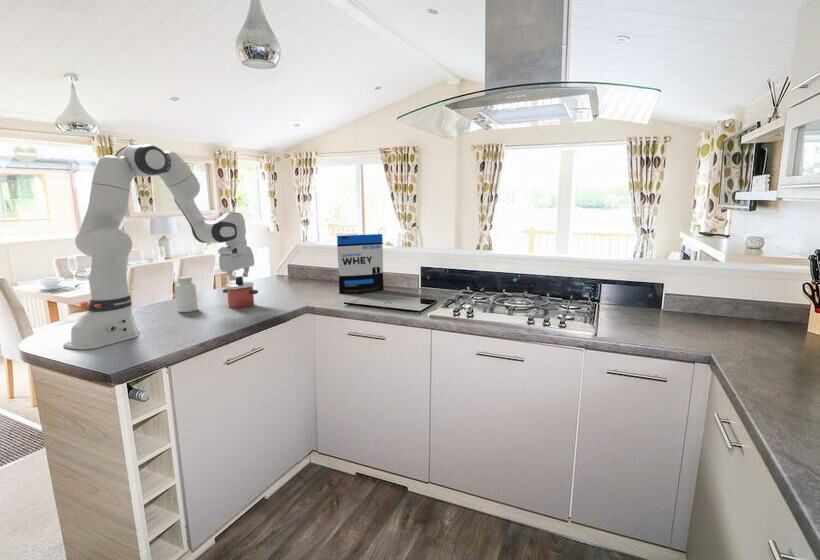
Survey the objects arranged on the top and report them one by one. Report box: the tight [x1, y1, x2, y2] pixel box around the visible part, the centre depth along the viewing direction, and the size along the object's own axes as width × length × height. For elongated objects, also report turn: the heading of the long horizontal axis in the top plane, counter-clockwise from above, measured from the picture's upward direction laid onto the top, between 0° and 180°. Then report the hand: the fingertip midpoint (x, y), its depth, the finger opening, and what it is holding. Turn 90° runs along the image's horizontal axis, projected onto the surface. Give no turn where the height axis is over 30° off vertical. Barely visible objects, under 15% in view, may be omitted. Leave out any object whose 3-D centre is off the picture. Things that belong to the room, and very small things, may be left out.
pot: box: [222, 286, 259, 310], centre depth 198 cm, size 11×17×9 cm, turn 75°
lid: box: [225, 275, 254, 289], centre depth 197 cm, size 12×12×4 cm
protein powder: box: [336, 233, 385, 295], centre depth 225 cm, size 10×24×30 cm, turn 113°
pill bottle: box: [175, 276, 199, 313], centre depth 190 cm, size 8×8×15 cm
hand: (239, 278), depth 197 cm, fingers open, 8 cm apart
